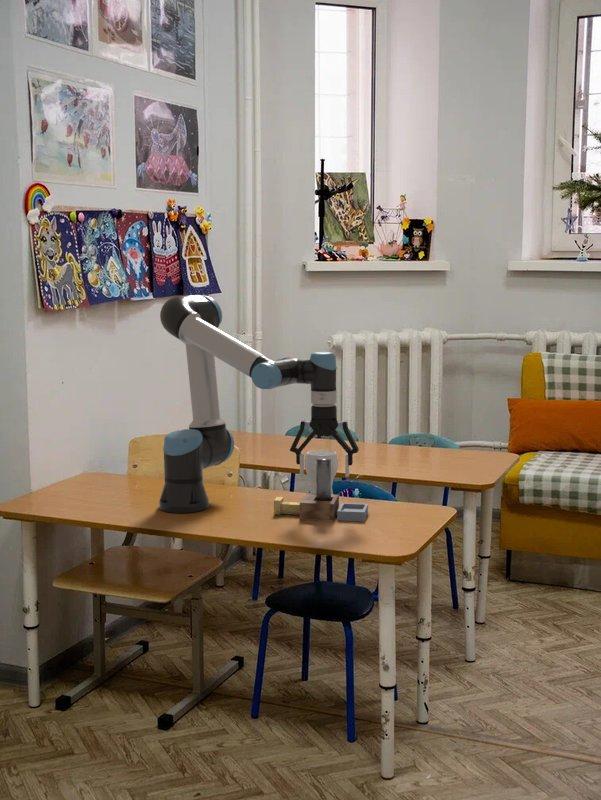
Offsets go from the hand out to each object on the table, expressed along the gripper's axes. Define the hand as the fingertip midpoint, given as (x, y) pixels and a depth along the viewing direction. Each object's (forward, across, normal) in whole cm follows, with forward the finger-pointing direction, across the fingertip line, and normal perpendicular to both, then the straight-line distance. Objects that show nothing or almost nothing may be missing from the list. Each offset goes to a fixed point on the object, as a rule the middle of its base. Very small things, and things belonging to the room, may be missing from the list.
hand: (324, 475), depth 297 cm
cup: (+12, -4, +20) cm, 24 cm away
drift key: (+12, -9, 0) cm, 15 cm away
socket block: (+12, -2, 0) cm, 12 cm away
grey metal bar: (+12, 0, 0) cm, 12 cm away
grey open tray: (+12, +8, 0) cm, 15 cm away
